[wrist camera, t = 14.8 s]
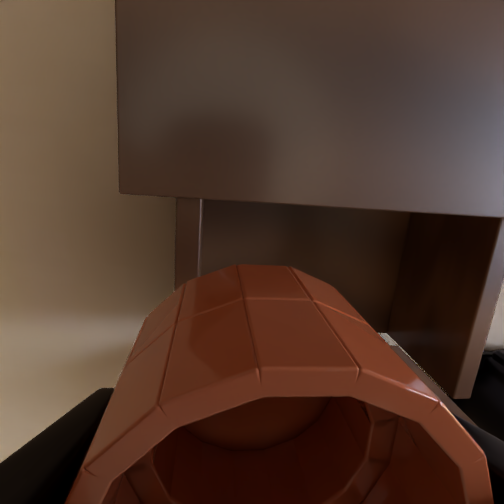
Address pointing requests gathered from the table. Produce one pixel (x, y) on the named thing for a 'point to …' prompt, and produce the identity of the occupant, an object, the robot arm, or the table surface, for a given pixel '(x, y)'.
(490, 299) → the drawer
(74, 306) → the table surface
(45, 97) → the table surface
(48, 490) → the robot arm
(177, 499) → the bowl
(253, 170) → the cabinet
